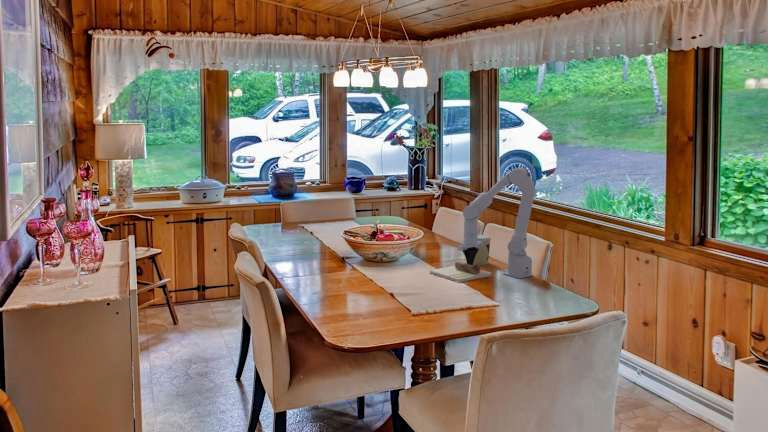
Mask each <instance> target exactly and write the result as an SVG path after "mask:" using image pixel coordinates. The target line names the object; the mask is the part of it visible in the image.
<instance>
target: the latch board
mask: <svg viewBox="0 0 768 432" xmlns="http://www.w3.org/2000/svg"><path fill="white" fill-rule="evenodd" d="M428 272H430V273H429V274H431V273H433V274H432V275H434V274H436V275H435V276H437V275H439V276H438V277H440V276H442V277H441V278H443V277H445V278H444V279H446V278H448V279H447V280H450V279H451V281H453V280H454V281H453V282H456V281H457V282H456V283H461V282H467V281H472V280H478V279H481V278H486V277H491V276H492V272H489V271H487V270H484V269H483V270H482V269H480V273H477V274H474V273H470V272H467V271H464V270H460V269H457V268H455V265H451V266H445V267H440V268H435V269H430V270H429V271H428Z"/></svg>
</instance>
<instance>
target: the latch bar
mask: <svg viewBox="0 0 768 432" xmlns="http://www.w3.org/2000/svg"><path fill="white" fill-rule="evenodd" d="M454 266H455V268H457V269H460V270H464V271H467V272H470V273H474V274H477V273H480V270H481V267H480V266H478V265H474V264H473V265H470V264H467V262H463V261H456V262H455V263H454Z"/></svg>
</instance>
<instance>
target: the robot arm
mask: <svg viewBox="0 0 768 432" xmlns="http://www.w3.org/2000/svg"><path fill="white" fill-rule="evenodd" d="M511 185H514V186H515V187H517V188H518V190H519V191H520V192H521V199H520V203H519V206H518V207H519V208H518V212H517V217H516V221H515V225H514V226H515V227H514V231H513V234H512V235H511V239H510V240H509V242H508V243H507V250H508V252H507V254H508V255H507V256H508V257H507V271H505V272H503V273H502V274H503V275H506V276H510V277H514V278H516V279H523V278H528V277H533V276H534V275H533V274H532V270H533V265H532V264H533V260H532V258H531V257H530V256H529V255H527V252H526V251H527V250H526V248H527V246H528V241H527V240H528V239H527V236H528V235H527V232H528V226H529V221H530V217H531V213H532V208H533V203H534V199H535V193H536V187H535V185H534V181H533V179H532V174H531V173H530V171H528V170H527V169H526V168H525V167H523V166H519V167H517V168H514V169H511V171H510V172H509V173H506V174H505V175H503V177H501V178H500V179H499V180H498V181H497V182H496V183H495V184H494V185H493V186H491V188H490V189H489V190H488V191H486V192H483V191H482V192H481V193H480V192H479V193H478V194H477V197H476V198H475V199H474V200H473V201H472V200H471V201H470V202H469V205H467V206H465V207H464V209H463V210H462V216H463V217H464V223H463V242H461V244H460V245H457V251H459V252H462V253H463V255H464V258H465V261H466V262H465V263H466V264H470V265H473V266H474V264H473V263H474V259H475V256H476V254H477V252H478V251H479V249H478V248H476V247H478V246H482V244H483V242H482V241H477V238H478V235H479V234H478V233H479V232H478V231H479V223H478V222H479V221H478V220H479V216H480V213H482V212H483V211H485V210H486V209H487V208H488V207H489V206H490V205H491V204H492V203H493V199H494V197H495V196H497V194H498V193H500V192H501V191H502V190H504V188H506V187H507V186H511Z"/></svg>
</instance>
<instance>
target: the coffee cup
mask: <svg viewBox="0 0 768 432" xmlns="http://www.w3.org/2000/svg"><path fill="white" fill-rule="evenodd" d="M477 241H482V242H483V244H482V246H478V247H476V248H478V249H479V251H478V252H477V254H476V256H475V259H474V263H473V266H474V265H476V266H485V265H488V264H489V259H490V257H489V256H490V248H491V236H490V235H487V234H478V238H477Z"/></svg>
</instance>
